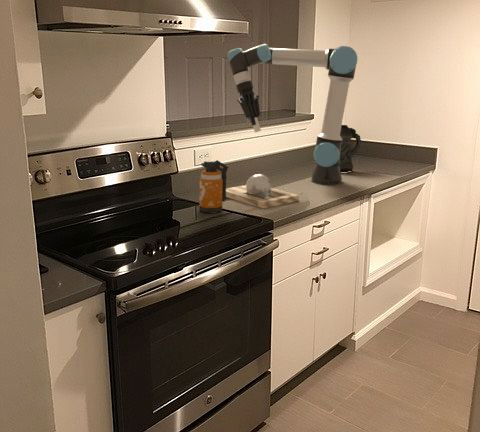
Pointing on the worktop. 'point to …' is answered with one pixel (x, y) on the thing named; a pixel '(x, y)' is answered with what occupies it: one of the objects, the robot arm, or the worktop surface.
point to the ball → (258, 186)
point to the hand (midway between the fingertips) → (257, 131)
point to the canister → (212, 186)
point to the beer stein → (348, 148)
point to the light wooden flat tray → (242, 195)
